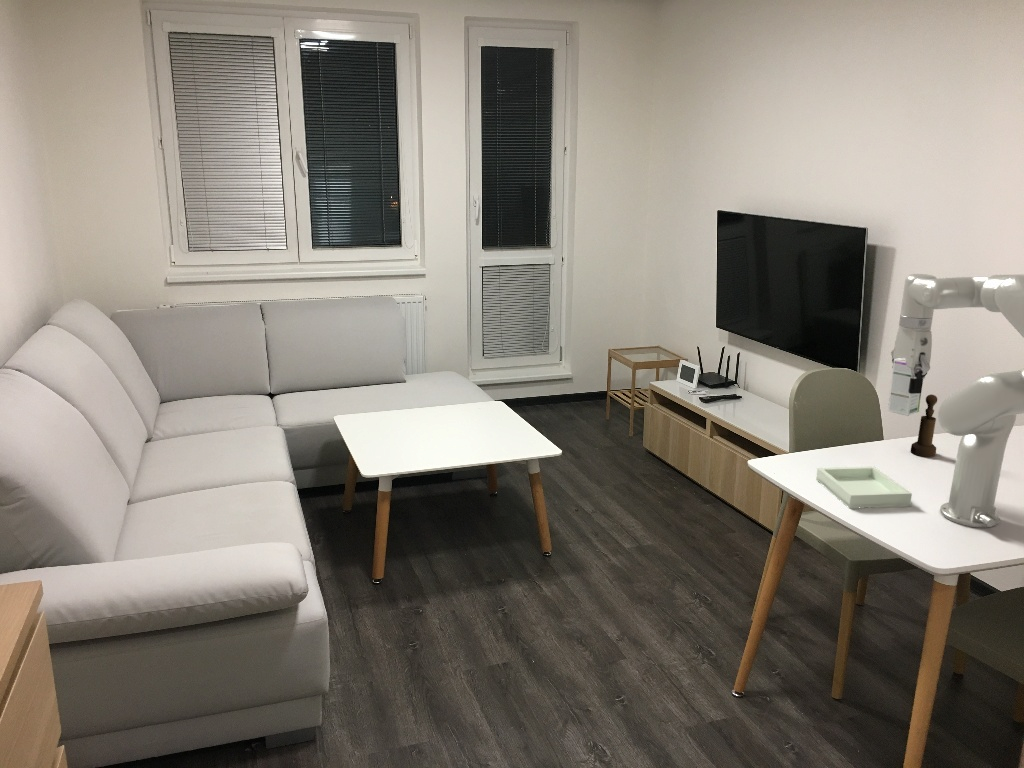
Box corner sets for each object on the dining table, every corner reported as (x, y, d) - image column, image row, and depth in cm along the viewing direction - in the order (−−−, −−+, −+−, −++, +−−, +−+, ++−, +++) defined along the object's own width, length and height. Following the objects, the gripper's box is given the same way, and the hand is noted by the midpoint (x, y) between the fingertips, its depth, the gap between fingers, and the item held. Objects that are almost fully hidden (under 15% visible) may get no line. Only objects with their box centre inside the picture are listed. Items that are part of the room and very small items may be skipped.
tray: (909, 506, 206) (911, 493, 205) (849, 508, 204) (850, 495, 203) (872, 478, 223) (874, 466, 222) (816, 480, 221) (817, 468, 220)
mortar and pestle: (930, 450, 245) (939, 392, 240) (938, 458, 238) (948, 398, 233) (907, 449, 245) (916, 391, 240) (915, 456, 239) (924, 397, 234)
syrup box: (908, 416, 213) (916, 362, 210) (886, 411, 218) (893, 358, 214) (918, 412, 217) (926, 359, 213) (897, 407, 221) (904, 354, 217)
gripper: (949, 329, 203) (938, 398, 208) (910, 316, 220) (901, 379, 224) (920, 329, 202) (910, 398, 207) (883, 316, 219) (875, 380, 224)
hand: (905, 388), depth 216 cm, fingers closed on syrup box, 7 cm apart
